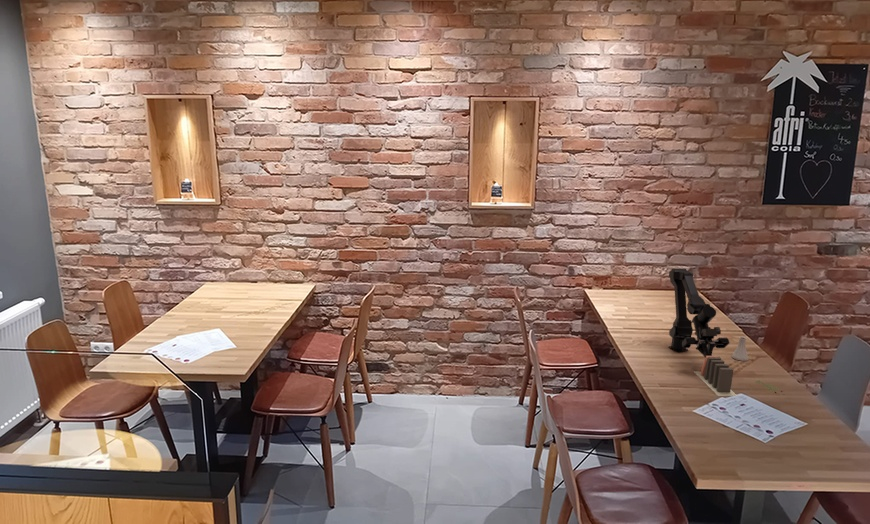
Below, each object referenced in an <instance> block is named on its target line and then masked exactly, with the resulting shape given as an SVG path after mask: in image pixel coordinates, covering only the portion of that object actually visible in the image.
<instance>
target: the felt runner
mask: <svg viewBox="0 0 870 524" xmlns="http://www.w3.org/2000/svg"><path fill="white" fill-rule="evenodd" d="M700 372H701V370H700V371H698V370H697V371H695V370H694V371H693V373H694V374H695V375H696V376H697V377H698V378H699V379H701V381H702V382H703V383H705V385H707V387H708V388H709V389H711V390H712V392H713V393H714V394H715V395H716V396H718V397H738V395H737V394H736V393H735V392H734V391H733V390H732V389H731V391H730V392H717V391H716V389H717V388H713V387H712V384H709V383H708V380H705V379H704V376H701V374H700Z"/></svg>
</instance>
